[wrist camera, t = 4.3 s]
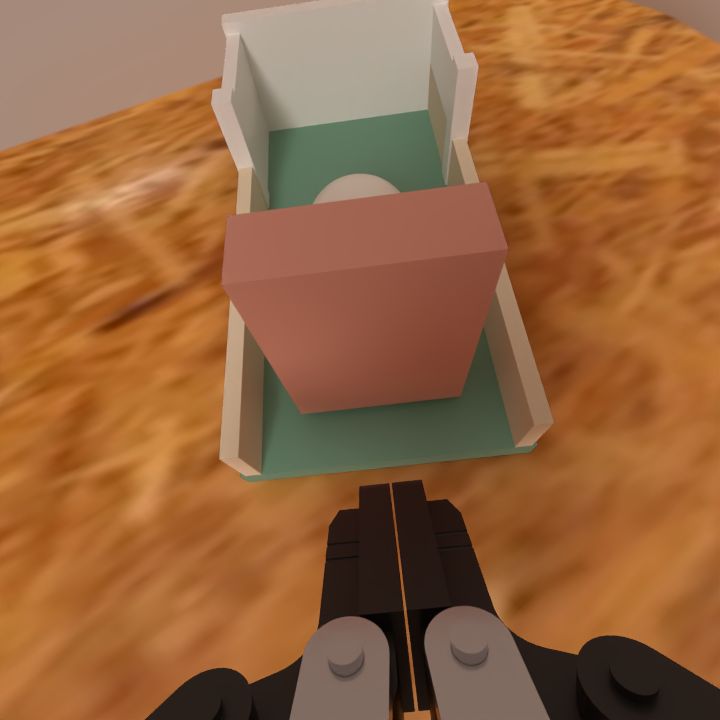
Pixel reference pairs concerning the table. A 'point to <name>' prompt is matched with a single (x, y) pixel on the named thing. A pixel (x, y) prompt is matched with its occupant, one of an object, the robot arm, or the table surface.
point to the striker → (368, 293)
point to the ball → (355, 188)
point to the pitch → (394, 421)
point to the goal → (338, 70)
